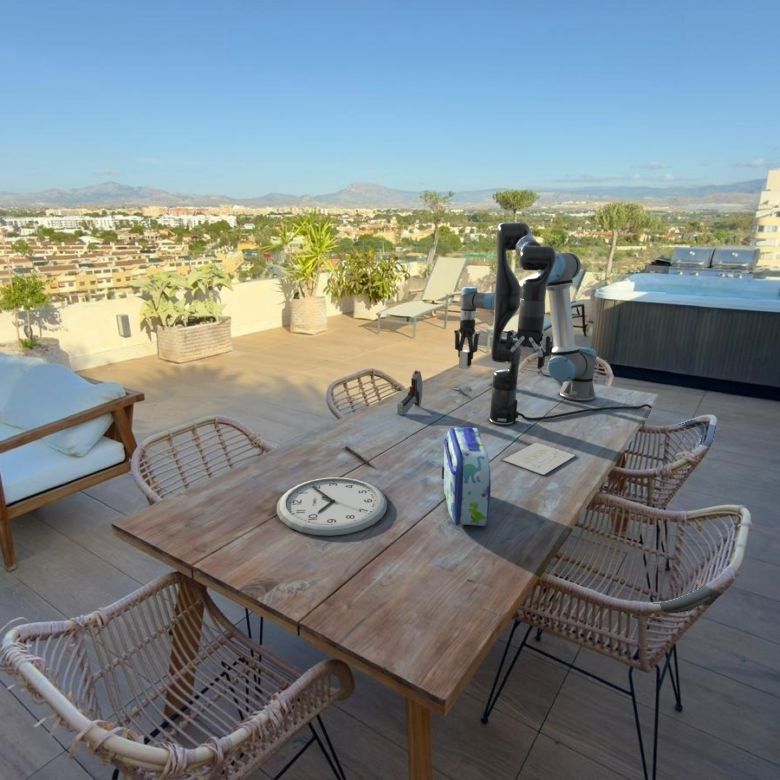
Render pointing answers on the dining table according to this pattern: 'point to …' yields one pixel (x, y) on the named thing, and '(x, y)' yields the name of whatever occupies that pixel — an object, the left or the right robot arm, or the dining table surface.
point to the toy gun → (412, 394)
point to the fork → (458, 389)
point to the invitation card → (539, 458)
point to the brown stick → (357, 455)
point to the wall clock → (331, 506)
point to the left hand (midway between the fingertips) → (526, 365)
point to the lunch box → (466, 477)
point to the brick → (464, 359)
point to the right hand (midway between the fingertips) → (465, 364)
